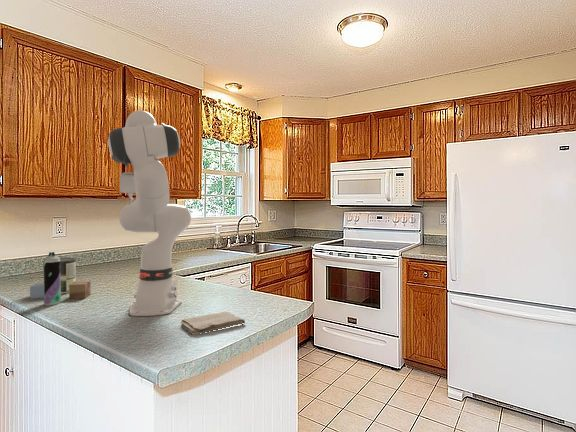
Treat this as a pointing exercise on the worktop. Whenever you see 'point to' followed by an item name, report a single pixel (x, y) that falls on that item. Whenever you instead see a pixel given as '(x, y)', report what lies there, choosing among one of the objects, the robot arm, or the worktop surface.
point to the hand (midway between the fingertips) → (144, 203)
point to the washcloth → (210, 322)
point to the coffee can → (67, 273)
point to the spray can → (52, 280)
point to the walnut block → (79, 289)
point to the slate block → (37, 290)
